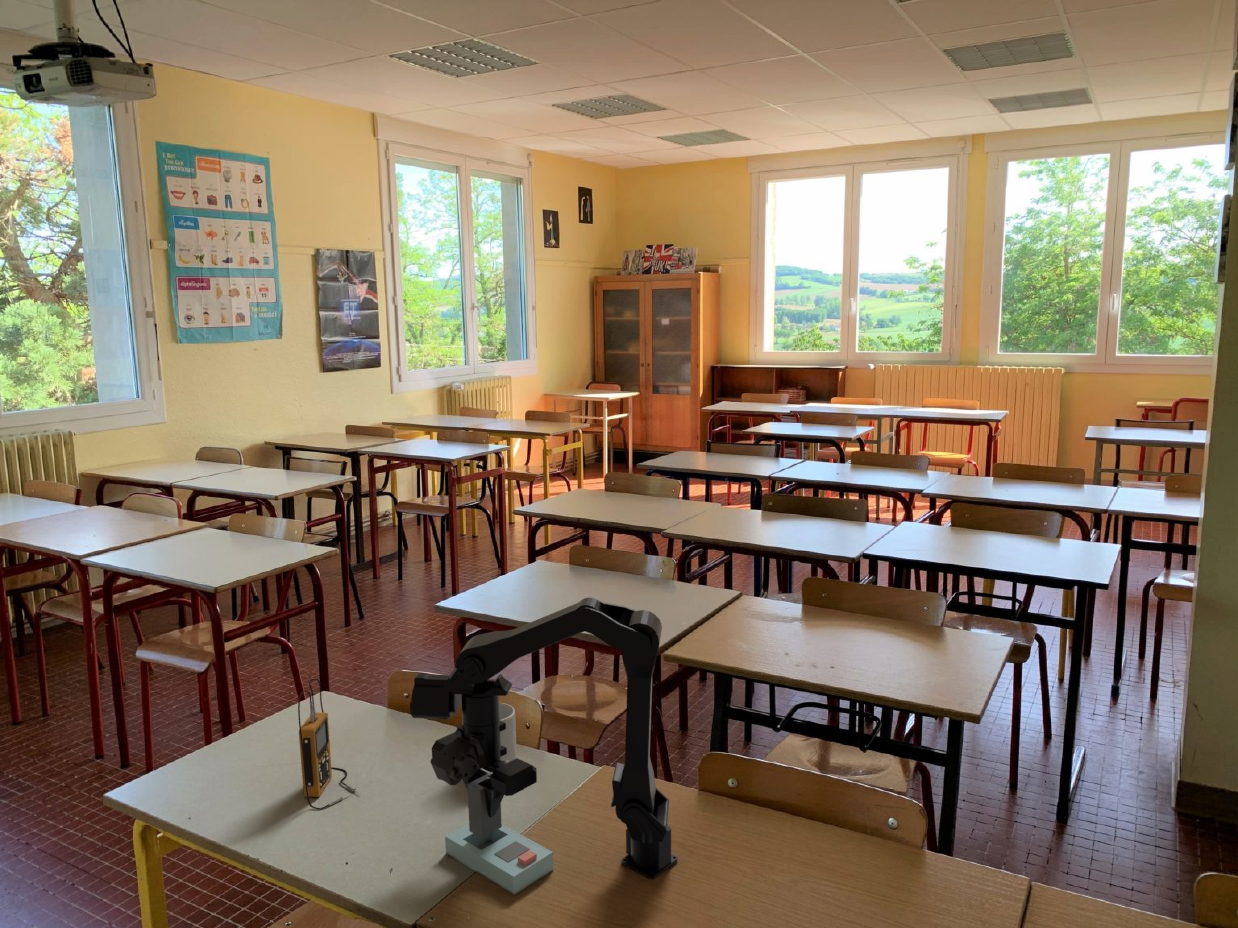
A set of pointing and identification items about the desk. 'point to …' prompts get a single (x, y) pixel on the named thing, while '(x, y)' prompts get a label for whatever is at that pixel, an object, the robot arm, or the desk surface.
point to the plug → (481, 810)
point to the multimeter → (316, 752)
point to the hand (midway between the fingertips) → (485, 812)
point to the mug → (508, 731)
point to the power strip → (501, 857)
